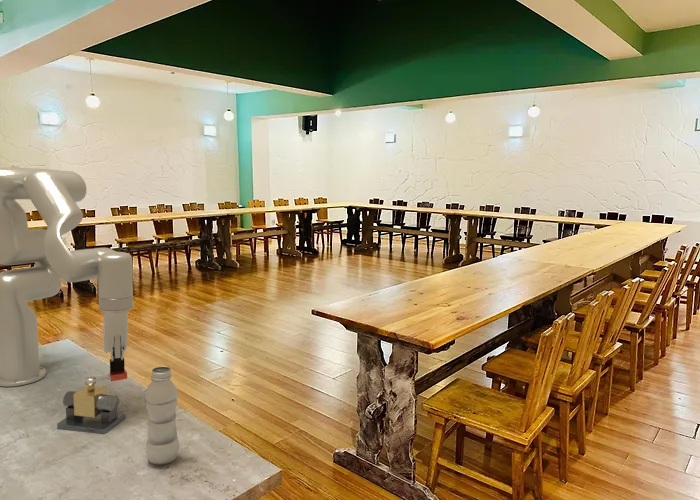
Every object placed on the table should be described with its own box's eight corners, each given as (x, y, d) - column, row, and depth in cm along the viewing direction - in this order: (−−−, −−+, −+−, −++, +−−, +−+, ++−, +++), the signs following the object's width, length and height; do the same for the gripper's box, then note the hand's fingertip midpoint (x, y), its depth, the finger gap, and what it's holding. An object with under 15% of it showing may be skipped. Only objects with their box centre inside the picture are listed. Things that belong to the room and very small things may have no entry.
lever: (85, 386, 113) (85, 380, 113) (84, 382, 115) (84, 376, 115) (127, 378, 118) (127, 372, 118) (125, 375, 120) (125, 369, 120)
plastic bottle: (168, 471, 98) (167, 377, 96) (138, 466, 100) (136, 373, 97) (185, 454, 105) (184, 365, 102) (157, 449, 106) (155, 362, 103)
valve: (57, 428, 113) (55, 388, 112) (80, 412, 121) (79, 375, 119) (104, 434, 111) (103, 393, 110) (125, 417, 119) (124, 379, 118)
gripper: (98, 296, 123) (100, 365, 125) (98, 312, 110) (100, 389, 112) (131, 294, 126) (131, 362, 129) (135, 309, 113) (136, 384, 116)
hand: (117, 374), depth 121 cm, fingers closed
